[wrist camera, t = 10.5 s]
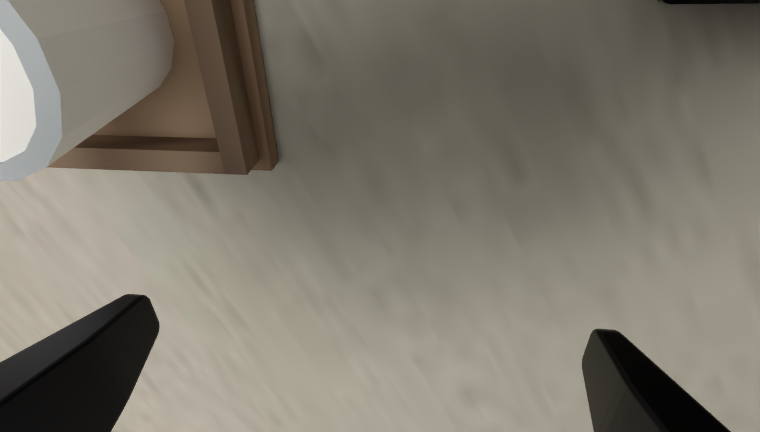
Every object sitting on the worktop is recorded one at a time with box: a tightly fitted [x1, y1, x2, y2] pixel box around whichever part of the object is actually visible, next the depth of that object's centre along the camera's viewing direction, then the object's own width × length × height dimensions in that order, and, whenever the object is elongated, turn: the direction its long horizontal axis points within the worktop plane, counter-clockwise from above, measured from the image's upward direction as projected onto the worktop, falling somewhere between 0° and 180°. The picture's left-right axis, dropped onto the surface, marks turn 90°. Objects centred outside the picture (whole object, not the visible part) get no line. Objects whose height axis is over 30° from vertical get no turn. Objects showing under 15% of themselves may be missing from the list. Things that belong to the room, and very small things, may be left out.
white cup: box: [0, 0, 174, 181], centre depth 14 cm, size 7×7×7 cm
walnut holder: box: [47, 0, 279, 175], centre depth 17 cm, size 12×12×2 cm
